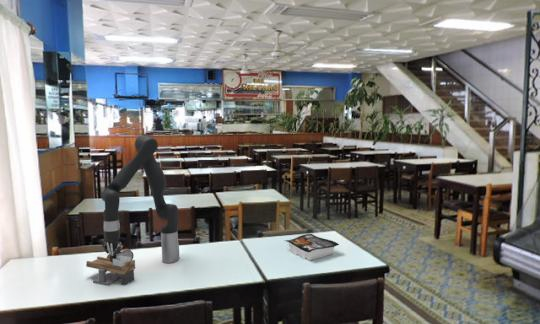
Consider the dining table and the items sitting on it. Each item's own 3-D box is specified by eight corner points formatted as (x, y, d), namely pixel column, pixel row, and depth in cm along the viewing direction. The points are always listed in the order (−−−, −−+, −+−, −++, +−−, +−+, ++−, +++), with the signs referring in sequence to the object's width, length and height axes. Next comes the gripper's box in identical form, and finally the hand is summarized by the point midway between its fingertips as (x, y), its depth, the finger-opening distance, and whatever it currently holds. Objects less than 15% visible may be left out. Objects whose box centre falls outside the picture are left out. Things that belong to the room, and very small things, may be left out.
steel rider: (120, 264, 196) (120, 255, 195) (131, 266, 193) (130, 257, 192) (113, 268, 191) (112, 258, 190) (123, 270, 188) (123, 260, 188)
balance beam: (98, 262, 204) (98, 253, 204) (135, 270, 194) (134, 260, 194) (86, 268, 197) (85, 258, 196) (123, 276, 187) (123, 265, 186)
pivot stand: (114, 272, 205) (113, 259, 204) (140, 277, 198) (139, 264, 197) (93, 282, 192) (92, 269, 191) (119, 288, 185) (118, 274, 184)
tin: (132, 260, 221) (131, 246, 220) (134, 262, 219) (133, 248, 218) (106, 268, 210) (105, 253, 209) (108, 269, 208) (107, 254, 207)
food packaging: (283, 239, 233) (311, 232, 246) (283, 251, 234) (311, 244, 247) (309, 251, 213) (339, 243, 225) (309, 264, 213) (339, 255, 226)
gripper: (127, 228, 193) (128, 261, 195) (107, 225, 198) (109, 257, 200) (116, 232, 186) (117, 266, 188) (96, 229, 191) (97, 262, 193)
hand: (113, 261), depth 194 cm, fingers closed
